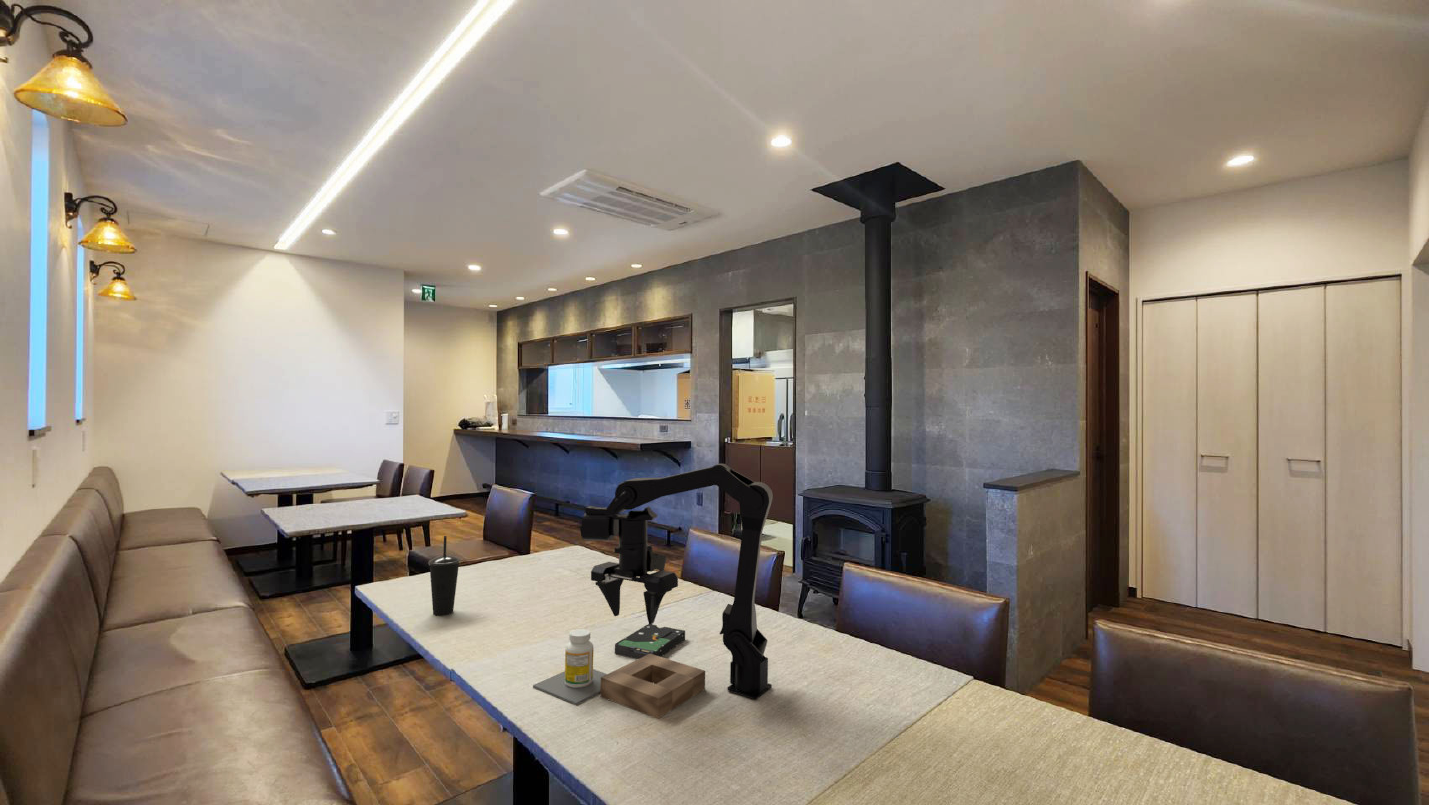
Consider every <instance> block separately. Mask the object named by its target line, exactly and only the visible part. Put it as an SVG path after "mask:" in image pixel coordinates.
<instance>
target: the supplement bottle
mask: <svg viewBox="0 0 1429 805" xmlns="http://www.w3.org/2000/svg"><path fill="white" fill-rule="evenodd" d="M568 640H569V642H568V643H566V645H565V654H564V656H565V658H564V671H565V684H566V685H567V686H569V687H572V688H581V687H585V686H588V685H589V684H590V683H591V682H592V680H593V669H594V648H595V647H594V644H593V642H592V641H590V640H591V631H590V630H588V629H584V628H577V629H573V630H571V631H570V632H569V638H568Z"/></svg>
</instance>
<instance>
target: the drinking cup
mask: <svg viewBox="0 0 1429 805" xmlns="http://www.w3.org/2000/svg"><path fill="white" fill-rule="evenodd" d="M447 538H448V537H447V535H444V536H443V551H442V552H443V553H442V555H440V556H439V555H438V556H436V557H434V558H433V559H430V560H428V565H429V571H430V572H429V573H430V586H431V588H430V589H431V590H430V591H431V603H432V613H433V614H432V615H434V616H439V617H440V616H447V615H451V614H453V613H454V608H455V598H456V591H457V581H458V575H459V565H460V562H461V558H459V557H456V556H454V555H448V554H447ZM452 612H453V613H452Z"/></svg>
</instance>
